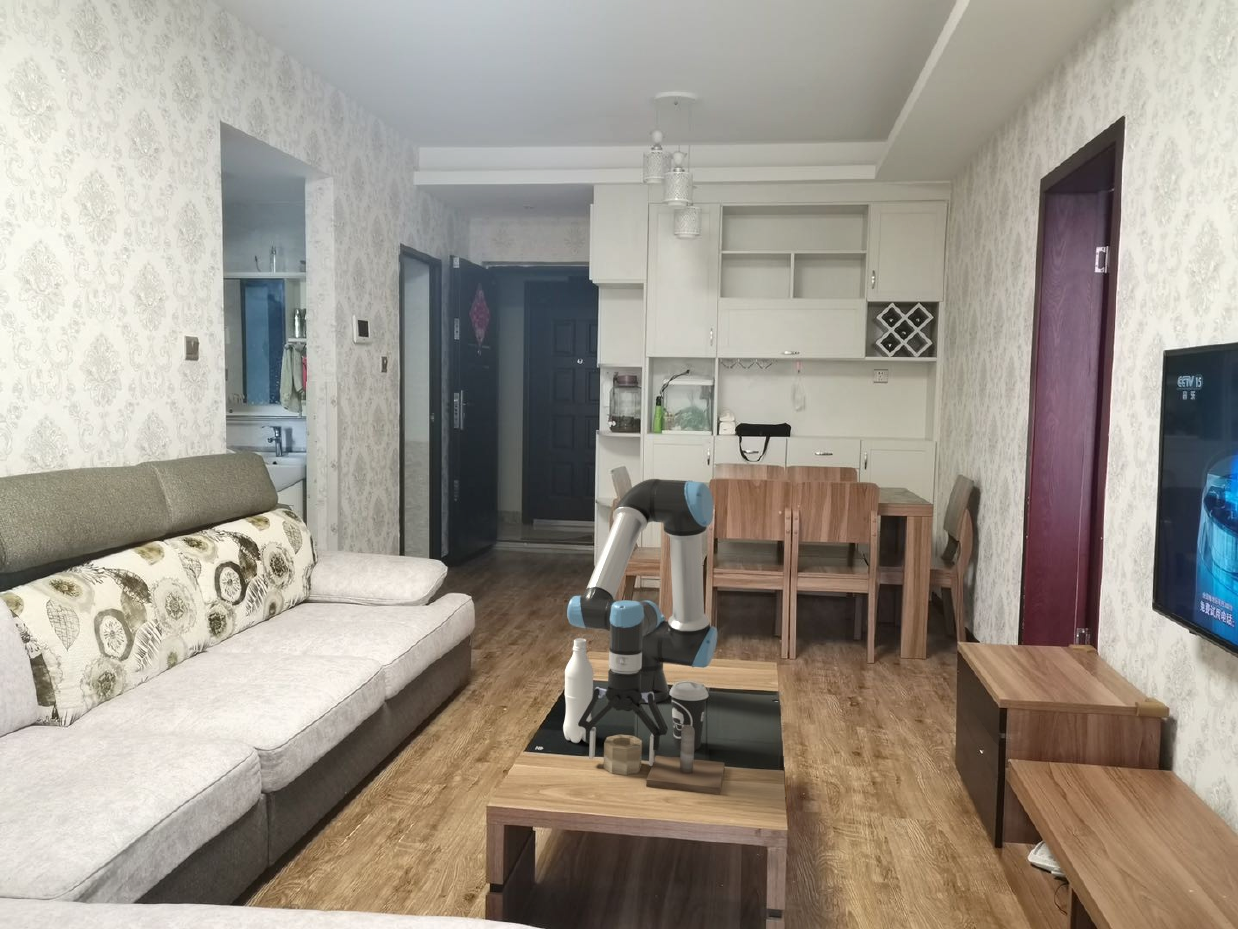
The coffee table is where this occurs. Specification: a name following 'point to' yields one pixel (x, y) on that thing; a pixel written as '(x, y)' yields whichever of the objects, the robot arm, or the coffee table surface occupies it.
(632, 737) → the collar
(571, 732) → the water bottle
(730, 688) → the coffee table surface
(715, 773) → the post base
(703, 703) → the coffee cup
